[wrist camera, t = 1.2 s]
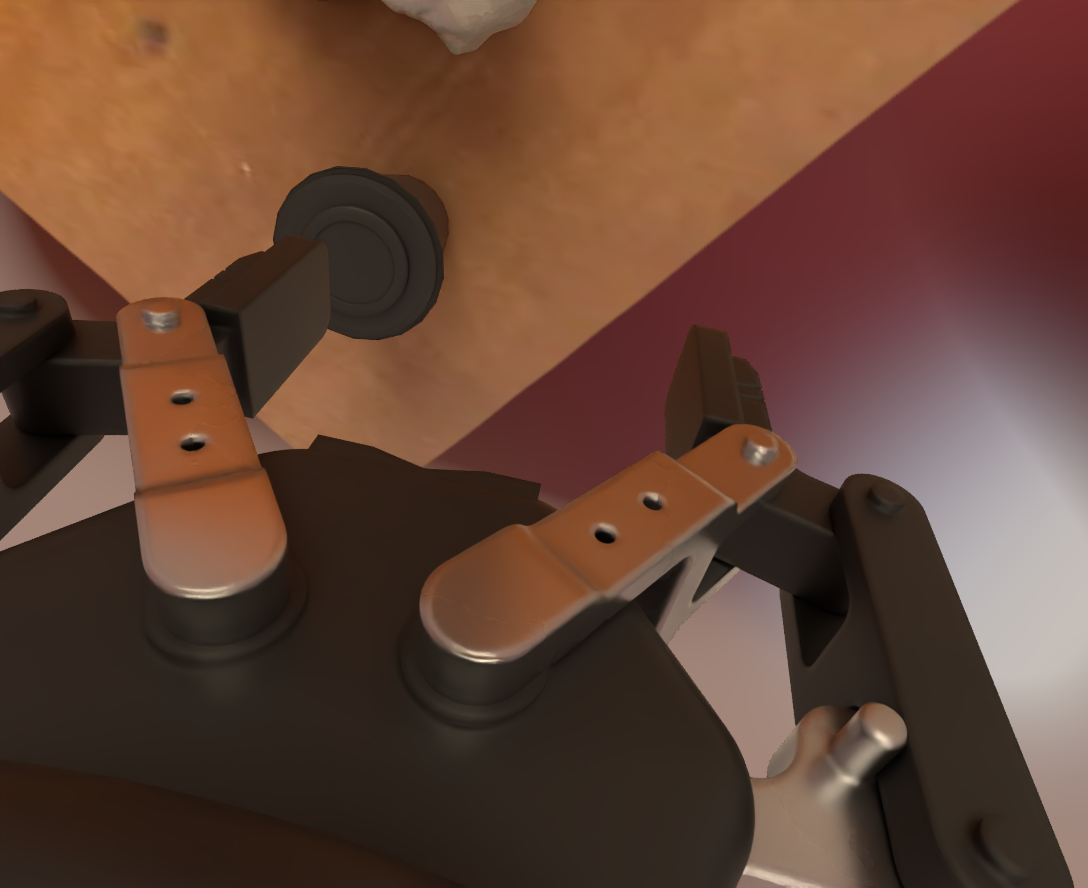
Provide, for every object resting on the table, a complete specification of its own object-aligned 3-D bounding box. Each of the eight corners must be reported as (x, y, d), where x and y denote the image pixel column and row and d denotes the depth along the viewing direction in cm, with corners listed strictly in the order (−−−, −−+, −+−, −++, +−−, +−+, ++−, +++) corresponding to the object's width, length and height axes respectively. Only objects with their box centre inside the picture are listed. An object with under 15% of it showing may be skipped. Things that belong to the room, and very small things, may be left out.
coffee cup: (315, 247, 39) (239, 295, 31) (366, 117, 36) (296, 130, 27) (436, 314, 41) (396, 378, 32) (496, 197, 37) (470, 233, 29)
